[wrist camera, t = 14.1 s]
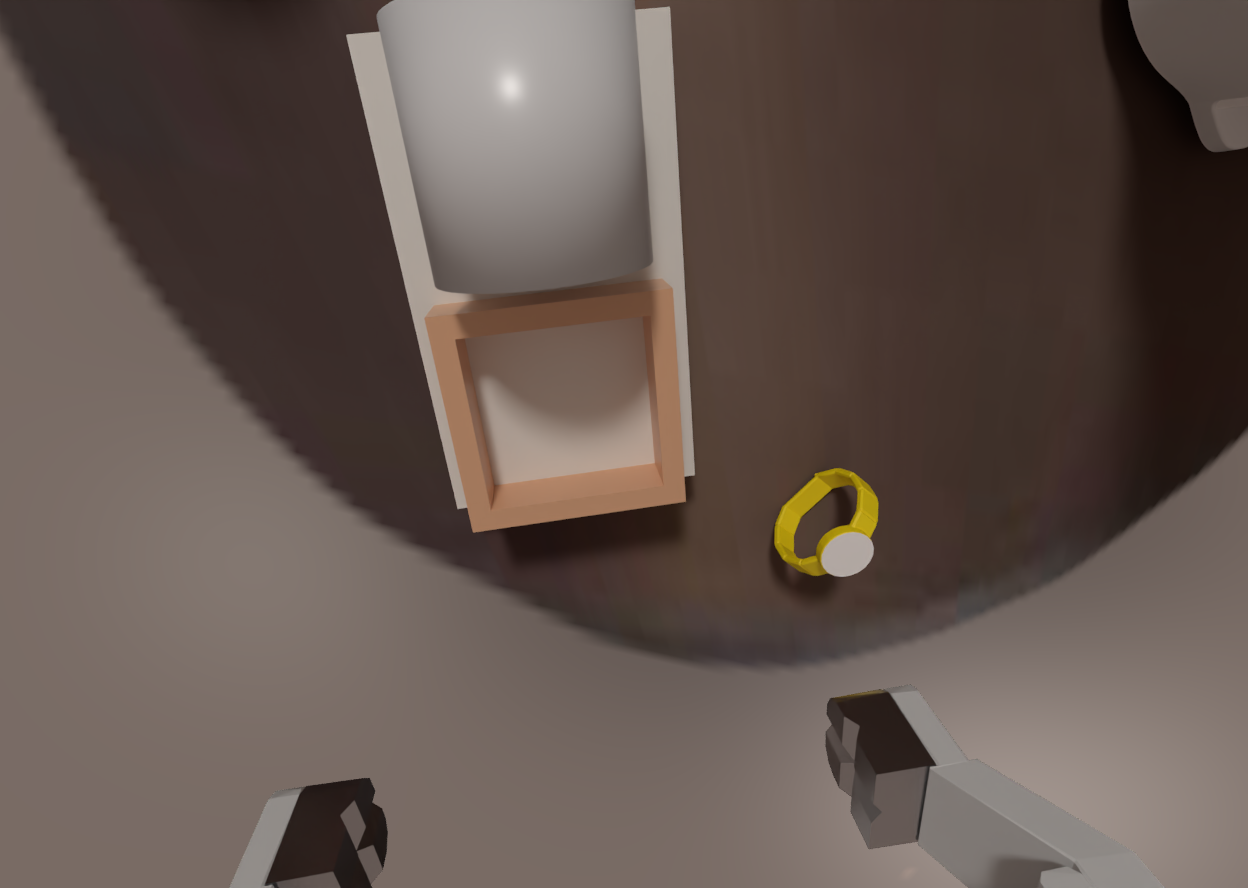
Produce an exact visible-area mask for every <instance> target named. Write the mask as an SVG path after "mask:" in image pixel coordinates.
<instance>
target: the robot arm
mask: <svg viewBox="0 0 1248 888" xmlns="http://www.w3.org/2000/svg"><path fill="white" fill-rule="evenodd" d="M1128 4H1129V10H1130V15H1131V19H1132V23H1133V26H1134V30H1135V32H1136V35H1137V38H1138V40H1139V43H1140V45H1141V47H1142V49H1143V51H1144V53H1145V54H1146V56H1147V58H1148V59H1149V61H1150V62H1151V64H1152V65H1153V66H1154V68H1155V69H1156V70H1157V71H1158V72H1159V73H1160V74H1161V76H1163V77H1164V78H1165V79H1166V80H1167V81H1168V82H1169V83H1170V84H1171V85H1173V86H1174V87H1175V88H1176V89H1177V90H1178V91H1179V92H1180V93H1181V94H1182V95H1183V96H1184V97H1185V99H1186V100H1187V102H1188V103H1189V106H1190V110H1191V113H1192V117H1193V120H1194V124H1195V127H1196V130H1197V132H1198V135H1199V138H1200V140H1201V142H1202V143H1203V145H1204V146H1205V147H1206V148H1207V149H1208V150H1210V151H1212V152H1223V151H1230V150H1237V149H1243V148H1246V147H1248V0H1128ZM827 716H828V717H829V720H830V721H831V724H832V725H831V726H830V727H829V729H828V730H827V731H826V751H827V756H828V761H829V764H830V767H831V770H832V773H833V776H834V778H835V780H836V782H837V784H838V786H839V788H840V789H842V790H843V791H844V792H846V793H847V794H848V795H850V796H851V797H852V800H851V814H852V816H853V818H854V820H855V822H856V824H857V826H858V828H859V830H860V832H861V834H862V836H863V838H864V840H865V842H866V845H867V847H868V849H873V848H880V847H885V846H892V845H899V844H906V843H912V842H918V845H919V846H920V847H922V849H924V850H925V851H926V852H927V853H928V854H930V855H931V856H932V857H933V858H934V859H935V860H936V861H938V862H939V863H940V864H941V865H942V866H943V867H945V868H946V869H947V870H948V871H949V872H950V873H952V874H953V875H954V876H955V877H956V878H957V879H959V880H960V881H961V882H962V883H963V884H964V885H965V886H967V887H968V888H1165V887H1164V886H1163V885H1162V884H1161V882H1160V881H1159V880H1158V879H1157V878H1156V877H1155V875H1154V874H1153V873H1152V872H1151V871H1150V870H1149V869H1148V868H1147V866H1146V865H1145V864H1144V863H1143V862H1142V861H1141V859H1140V858H1139V857H1138V856H1137V855H1136V853H1135V852H1134V851H1132V850H1130V849H1129V848H1127V847H1125V846H1123V845H1122V844H1120V843H1118V842H1117V841H1115V840H1113V839H1112V838H1110V837H1108V836H1106V835H1105V834H1103V833H1102V832H1100V831H1098V830H1096V829H1095V828H1093V827H1091V826H1090V825H1088V824H1086V823H1084V822H1083V821H1081V820H1079V819H1078V818H1076V817H1074V816H1073V815H1071V814H1069V813H1068V812H1066V811H1064V810H1063V809H1061V808H1059V807H1057V806H1056V805H1054V804H1052V803H1051V802H1049V801H1047V800H1046V799H1044V798H1042V797H1040V796H1039V795H1037V794H1035V793H1034V792H1032V791H1030V790H1029V789H1027V788H1025V787H1024V786H1022V785H1020V784H1018V783H1017V782H1015V781H1013V780H1012V779H1010V778H1008V777H1006V776H1005V775H1003V774H1001V773H1000V772H998V771H996V770H995V769H993V768H991V767H990V766H988V765H986V764H984V763H983V762H981V761H979V760H978V759H973V760H968V759H967V757H966V756H965V754H964V753H963V752H962V750H961V749H960V748H959V746H958V745H957V744H956V742H955V741H954V739H953V738H952V737H951V735H950V734H949V733H948V731H947V730H946V728H945V727H944V726H943V724H942V723H941V722H940V720H939V719H938V717H937V716H936V715H935V713H934V712H933V710H932V709H931V708H930V706H929V705H928V704H927V702H926V701H925V700H924V698H923V697H922V695H921V694H920V693H919V691H918V690H917V689H916V688H915V687H913V686H912V685H905V686H899V687H893V688H887V689H883V690H881V689H879V690H873V691H868V692H862V693H857V694H851V695H847V696H841V697H835V698H830V700H829V701H828V704H827ZM374 794H375V789H374V787H373V785H372V782H371V780H370V778H362V779H354V780H347V781H340V782H333V783H326V784H319V785H312V786H306V787H299V788H293V789H286V790H280V791H276V792H275V793H274V794H273V795H272V796H271V797H270V799H269V800H268V801H267V803H266V805H265V808H264V810H263V812H262V815H261V817H260V819H259V821H258V824H257V826H256V828H255V830H254V833H253V835H252V837H251V840H250V842H249V844H248V846H247V849H246V851H245V853H244V856H243V858H242V860H241V862H240V865H239V867H238V869H237V872H236V874H235V876H234V878H233V881H232V883H231V885H230V888H372V886H371V883H372V882H373V881H374V880H375V878H377V876H378V875H379V874H380V873H381V871H382V870H383V867H384V862H385V857H386V852H387V835H388V831H387V824H386V818H385V815H384V812H383V810H382V808H380V807H379V806H377V805H375V804H374V803H372V801H373V798H374Z"/></svg>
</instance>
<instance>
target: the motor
mask: <svg viewBox="0 0 1248 888" xmlns="http://www.w3.org/2000/svg"><path fill="white" fill-rule="evenodd" d="M377 21H378V26H379V31H380V32H373V33H361V34H349V35H346V36H347V41H348V45H349V49H350V53H351V58H352V62H353V66H354V70H355V75H356V79H357V83H358V87H359V92H360V96H361V100H362V104H363V109H364V113H365V117H366V121H367V126H368V130H369V134H370V138H371V143H372V147H373V151H374V155H375V160H376V164H377V168H378V172H379V177H380V181H381V185H382V189H383V194H384V198H385V202H386V206H387V211H388V215H389V219H390V223H391V228H392V232H393V236H394V240H395V245H396V249H397V253H398V257H399V262H400V266H401V270H402V274H403V279H404V283H405V287H406V291H407V296H408V300H409V304H410V308H411V313H412V317H413V321H414V325H415V330H416V334H417V338H418V342H419V347H420V351H421V355H422V359H423V364H424V368H425V372H426V376H427V381H428V385H429V389H430V393H431V398H432V402H433V406H434V410H435V415H436V419H437V423H438V427H439V432H440V436H441V440H442V444H443V449H444V453H445V457H446V461H447V465H448V470H449V474H450V478H451V482H452V487H453V491H454V495H455V499H456V504H457V508H458V509H460V508H468V512H469V517H470V521H471V525H472V530H473V533H474V532H480V531H487V530H494V529H501V528H508V527H515V526H522V525H529V524H536V523H542V522H549V521H556V520H563V519H570V518H577V517H584V516H591V515H598V514H605V513H611V512H618V511H625V510H632V509H639V508H646V507H653V506H660V505H667V504H674V503H680V502H686V495H685V478H684V477H685V476H692V475H695V470H694V451H693V432H692V413H691V395H690V376H689V357H688V338H687V319H686V301H685V282H684V263H683V244H682V226H681V207H680V188H679V169H678V150H677V132H676V113H675V94H674V75H673V57H672V38H671V19H670V7H663V8H651V9H640V10H635V1H634V0H394V1H392V2H390V3H388V4H387V5H385V6H384V7H382V8H381V9H380V10H379V11H378V14H377Z"/></svg>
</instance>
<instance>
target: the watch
mask: <svg viewBox="0 0 1248 888" xmlns="http://www.w3.org/2000/svg"><path fill="white" fill-rule="evenodd" d="M846 485H851V486H854V487H855V488H856V490H857V491H858V494H857V510H856V513H855V515H854V517H853V519H852V521H851V523H850V525H845V526H839V527H837V528H834V529H832V530H830V531H829V532H827V533H826V534H825V535H824V536H823V537H822V538H821V540H820V541H819V543H818V545H817V548H816V555H815V556H812V557H808V558H805V559H800V558H797V557H796V555H795V554H794V534H795V531H796V529H797V526H798V523H799V521H800V518H801V517H802V516H803V515H804V514H805V513H806V512H807V511H809V510H810V509H811V508H812V507H813V506H814V505H815V504H816V503H817V502H818V501H820V500H821V499H822V498H823V497H824V496H825V495H826V494H827V493H828V492H829V491H830V490H832V489H833V488H837V487H842V486H846ZM877 500H878V498H877V497H876V495H875V494H874V492H873V490H872V489H871V487H870V486H869V485H868V484H867V483H866V482H864V481H863V480H862V479H861V478H860V477H858V476H857V475H856V474H855V473H853V472H850V471H847V470H844V469H840V468H835V469H831V470H827V471H823V472H819V473H818V474H817V473H816V474H815V477H814V478H813V479H812V480H810V481H809V482H808V483H807V484H806V485H805V486H804V487H803V488H802V489H801V490H800V491H799V492H798V493H797V494H795V495H794V496H793V497H792V498H791V499H790V500H789V501H788V502H787V503H786V504H785V505H784V506H782V509H781V511H780V514H779V516H778V519H777V521H776V523H775V525H776V526H775V539H774V545H775V548H776V549H777V551H778V553H779V554H780V556H781V558H782V559H783V560H784V561H786V562H787V563H788V564H790V565H791V566H793V567H794V568H795V569H797V570H798V571H800V572H803V573H806V574H809V575H812V576H819V575H823V574H827V573H829V574H831V575H833V576H839V577H845V576H851V575H853V574H856V573H858V572H859V571H861V570H862V569H864V568H865V567H866V566H867V564H868V563H869V562H870V560H871V558H872V556H873V550H874V547H873V544H872V541H871V539H870V537H871V535H872V533H873V531H874V529H875V527H876V525H877V524H876V523H877V521H878V501H877Z"/></svg>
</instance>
